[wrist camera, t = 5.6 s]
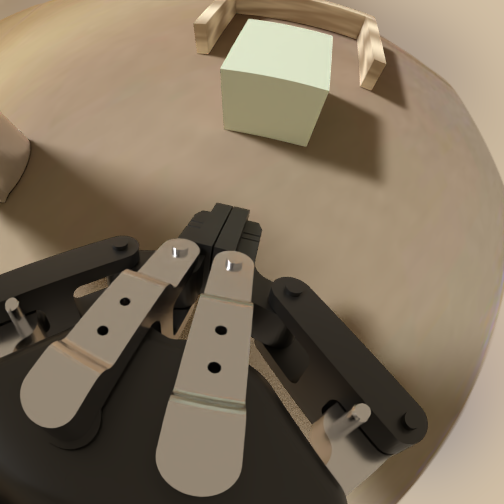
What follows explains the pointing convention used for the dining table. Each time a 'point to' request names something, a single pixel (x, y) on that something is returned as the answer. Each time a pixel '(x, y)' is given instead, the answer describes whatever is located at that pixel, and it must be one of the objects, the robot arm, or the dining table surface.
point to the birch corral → (305, 12)
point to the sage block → (276, 81)
